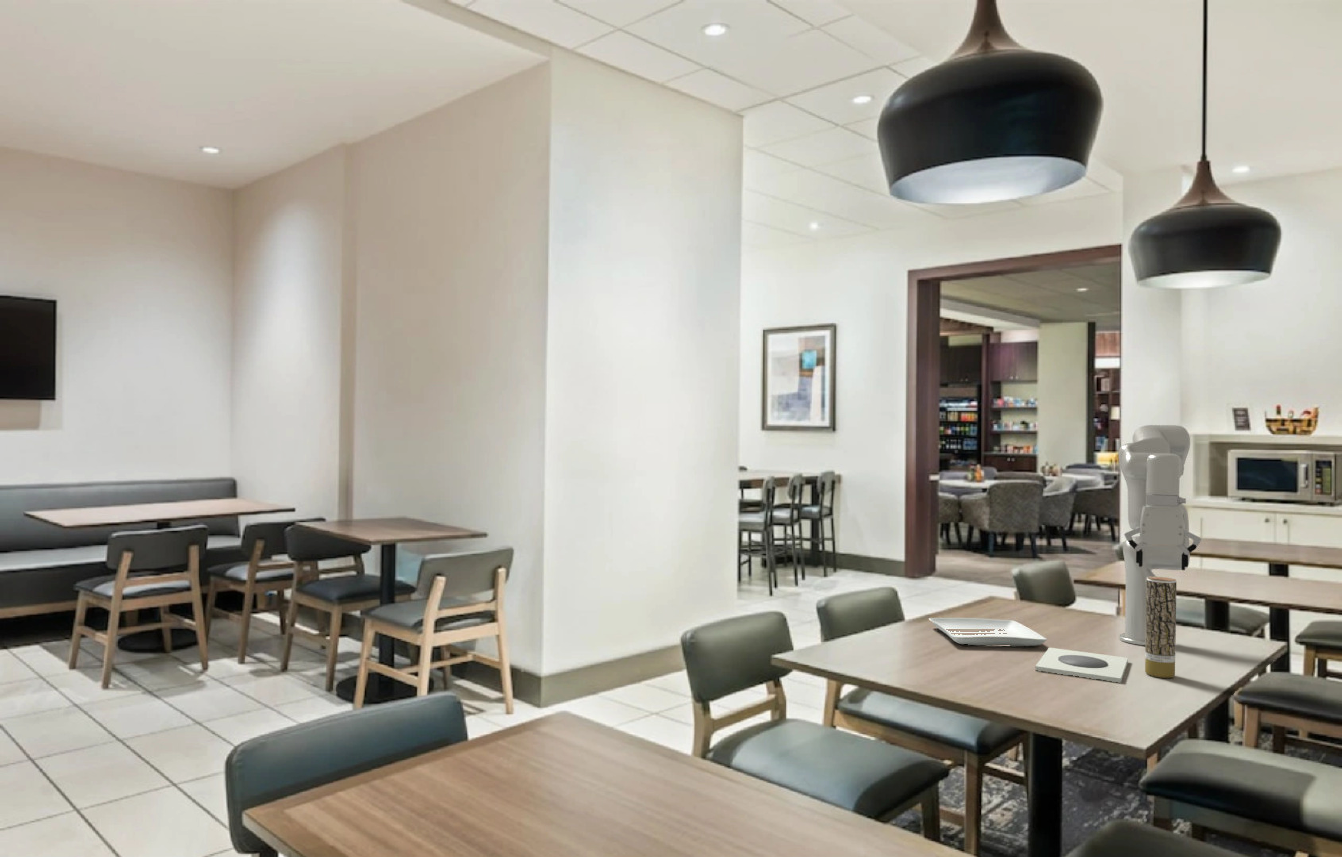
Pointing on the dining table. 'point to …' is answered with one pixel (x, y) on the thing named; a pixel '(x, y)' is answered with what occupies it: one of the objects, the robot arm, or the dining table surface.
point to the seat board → (1083, 664)
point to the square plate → (1014, 630)
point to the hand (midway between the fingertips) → (1161, 568)
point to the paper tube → (1160, 627)
